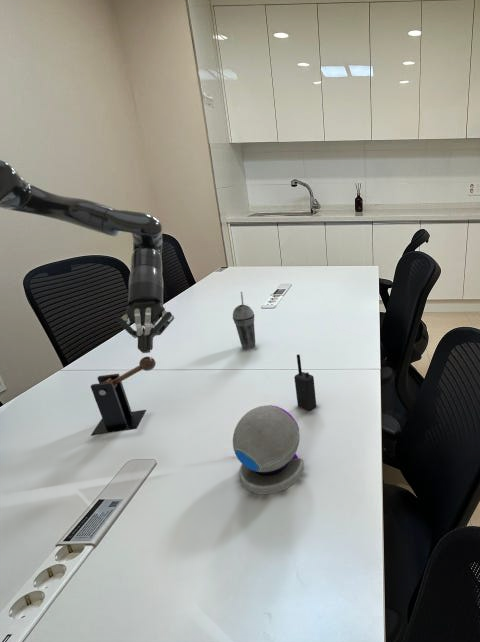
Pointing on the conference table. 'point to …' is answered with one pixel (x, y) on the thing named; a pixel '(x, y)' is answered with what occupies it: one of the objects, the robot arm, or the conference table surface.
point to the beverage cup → (245, 325)
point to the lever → (135, 370)
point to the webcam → (267, 449)
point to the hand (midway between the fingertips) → (145, 351)
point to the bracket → (114, 407)
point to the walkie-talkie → (305, 389)
